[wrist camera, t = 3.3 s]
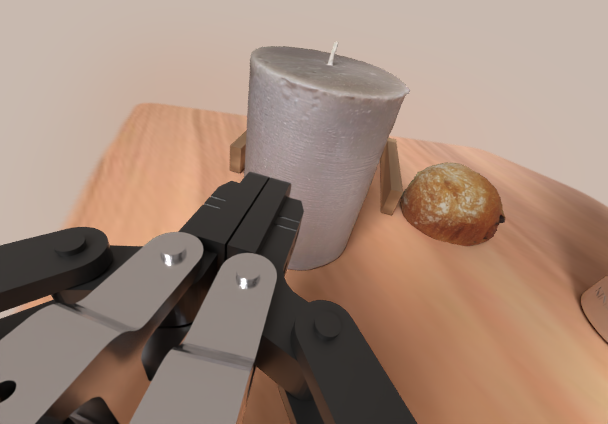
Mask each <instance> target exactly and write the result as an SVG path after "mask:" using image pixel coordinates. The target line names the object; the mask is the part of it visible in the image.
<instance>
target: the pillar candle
mask: <svg viewBox="0 0 608 424" xmlns="http://www.w3.org/2000/svg"><path fill="white" fill-rule="evenodd" d="M337 46H338V42H335V43H334V45H333V49H332V52H331V53H327V52H321V51H317V50H312V49H303V48H295V47H285V46H283V47H273V46H271V47H261V48H258V49H256V50H255V51H253V52H252V54H251V59H250V80H249V96H248V114H247V133H246V151H245V172H244V177H245V176H246V175H247V174H248V172H254V173H257V174H261V175H264V176H268V177H270V178H275V179H279V180H282V181H286V182H289V183H291V191H290V196H289V197H290V198H293V199H297V200H300V201H302V205H303V209H304V213H303V217H302V221H301V225H300V229H299V234H298V238H297V242H296V245H295V248H294V250H293V253H292V256H291V259H290V262H289V265H288V268H287V269H292V270H309V269H313V268H316V267H319V266H323V265H325V264H328V263H330V262H332V261H334V260H335V259H337V258H338V257H339V256H340V255H341V253H342V252H343V251H344V249H345V247H346V244H347V241H348V239H349V237H350V234H351V232H352V230H353V226H354V225H355V223H356V220H357V218H358V214H359V211H360V210H361V207H362V205H363V202H364V199H365V198H366V195H367V193H368V190H369V187H370V185H371V182H372V178H373V176H374V174H375V171H376V169H377V165H378V163H379V160H380V158H381V155H382V153H383V150H384V148H385V146H386V143H387V140H388V137H389V134H390V132H391V130H392V128H393V126H394V123H395V120H396V118H397V115H398V112H399V109H400V107H401V104H402V102H403V100H404V97H405V96H406V95H407V94H408V93H409V92H410V89H409V88H408V87H406V85H405V84H404V83H403V82H402V81H401V80H400V79H399V78H397V77H396V76H394V75H393V74H391V73H389V72H387V71H385V70H383V69H381V68H379V67H376V66H373V65H371V64H368V63H365V62H363V61H358V60H355V59H352V58H348V57H344V56H339V55H336V54H335V52H336V49H337Z"/></svg>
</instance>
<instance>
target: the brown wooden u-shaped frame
mask: <svg viewBox="0 0 608 424" xmlns="http://www.w3.org/2000/svg"><path fill="white" fill-rule="evenodd" d="M246 133H247V130H246V131H245V132H244V133H243V134H242V135H241V136H240V137H239V138H238V139H237V140H236V141H235V142H234V143H233V144H231V145H230V171H233V172H237V173H241V171H242V170H243V169H244V168H245V151H246ZM380 183H381V212H382V213H385V214H389V215H392V214H393V212H394V210H395V208H396V206H397V204H398V202H399V200H400V198H401V196H402V194H403V189H402V182H401V174H400V167H399V159H398V152H397V144H396V140H395V139H391V138H388V140H387V143H386V146H385V148H384V150H383V153H382V155H381V158H380Z"/></svg>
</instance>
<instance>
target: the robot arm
mask: <svg viewBox="0 0 608 424" xmlns="http://www.w3.org/2000/svg"><path fill="white" fill-rule="evenodd" d="M290 191H291V183H289V182H286V181H282V180H279V179H275V178H270V177H268V176H264V175H261V174H257V173H254V172H248V174H247V175H246V176H245V177H244V179H243V180H242V181H241V182H240V183H237V182H234V181H230V182H228V183H226V184H224V185H222V186H220V187H218V188H217V190H216V191H215V192H214V193H213V194H212V195H211V197H209V198H208V200H207V201H206V202H205V204H204V205H202V206H201V207H200V208H199V209H198V211H197V212H196V213H195V214H194V215H193V216H192V217H191V218H190V219H189V220H188V222H187V223H186V224H185V225H184V226H183V227H182V228H181V229H180V230H179V232H170V233H165V234H162V235H159V236H157V237H155V238H153V239H152V240H151V241H149V242H148V243H147V244H146V245H145V246H111V245H109V242H108V239H107V236H106V235H105V234H104V233H103V232H102V231H100V230H98V229H95V228H90V227H75V228H69V229H65V230H61V231H57V232H53V233H49V234H45V235H41V236H37V237H33V238H29V239H24V240H20V241H16V242H12V243H9V244H4V245H1V246H0V312H2V311H5V310H8V309H11V308H14V307H17V306H20V305H23V304H25V303H28V302H31V301H34V300H37V299H40V298H43V297H45V296H48V295H51V296H52V297H53V299H54V300H51V301H49V302H46V303H43V304H40V305H37V306H35V307H32V308H29V309H26V310H24V311H21V312H18V313H15V314H12V315H10V316H7V317H4V318H1V319H0V424H242V422H243V418H244V414H245V410H246V406H247V402H248V398H249V394H250V390H251V387H252V383H253V379H254V375H255V371H256V367H258V368H259V369H260V370H262V371H263V372H264V373H265V374H266V375H268V376H269V377H270V378H271V379H273V380H274V381H275V382H276V383H277V384H278V388H279V392H280V394H281V397H282V400H283V403H284V406H285V409H286V411H287V414H288V417H289V420H290V423H291V424H417V422H416V421H415V419H414V417H413V416H412V414H411V413H410V411H409V409H408V408H407V406H406V405H405V403H404V401H403V400H402V398H401V396H400V395H399V393H398V392H397V390H396V388H395V387H394V385H393V384H392V382H391V380H390V379H389V377H388V375H387V374H386V372H385V371H384V369H383V367H382V366H381V364H380V363H379V361H378V359H377V358H376V356H375V355H374V353H373V351H372V350H371V348H370V346H369V345H368V343H367V342H366V340H365V338H364V337H363V335H362V334H361V332H360V330H359V329H358V327H357V325H356V324H355V322H354V321H353V319H352V318H351V316H350V315H349V313H348V312H347V311H346V310H345V309H343V308H342V307H341V306H339V305H337V304H335V303H333V302H330V301H326V300H316V301H312V302H307V301H306V300H304V299H303V298H301V297H300V296H298V295H297V294H296V293H294V292H293V291H292V290H291V289H290V287H289V286H288V285H287V283H286V281H285V278H284V276H285V273H286V271H287V268H288V265H289V262H290V259H291V256H292V253H293V250H294V248H295V245H296V242H297V238H298V234H299V229H300V225H301V221H302V217H303V213H304V209H303V205H302V201H300V200H297V199H293V198H290V197H289V196H290ZM581 304H582V308H583V311H584V312H585V314H586V316H587V318H588V319H589V321H590V322H591V324H592V325H593V326H594V328H595V329H596V330H597V332H598V333H599V334H600V335H601V336H602V337H603V338H604V339H605V340H606V341H607V342H608V275H607V276H605V277H604V278H602V279H601V280H600V281H598V282H597V283H596V284H594V285H593V286H592V287H590V288H589V289H588V290H586V291H585V292H584V293H583V294H582V296H581Z"/></svg>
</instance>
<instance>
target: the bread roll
mask: <svg viewBox="0 0 608 424" xmlns="http://www.w3.org/2000/svg"><path fill="white" fill-rule="evenodd" d="M401 206H402V212H403V214H404V216H405V218H406V219H407V221H408V222H409V223H410V224H411V225H412V226H414V227H415V228H417V229H418V230H420V231H421V232H423V233H424V234H426V235H428V236H430V237H432V238H433V239H436V240H441V241H443V242H448V243H452V244H457V245H462V246H471V245H475V244H480V243H482V242H484V241H487V240H489V239H490V238H492V237H493V236H494V234H495V232H496V231H497V227H498V225H499V223H504V222H505V216H504V212H503V210H502V203H501V199H500V196H499V194H498V192H497V190H496V189H495V187H494V186H493V185H491V183H490V182H489V181H488V180H487V179H486V178H485V177H483V176H481V175H480V174H479V173H477V172H475V171H473V170H471V169H469V168H468V167H466V166H464V165H462V164H458V163H442V164H437V165H433V166H430V167H428V168H426V169H424V170H423V171H420V172H418V173H417V175H416V176H415V178H414V180H412V181H411V183H410V184H409V186H408V188H407V189H405V191H404V192H403V194H402V196H401Z"/></svg>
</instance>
